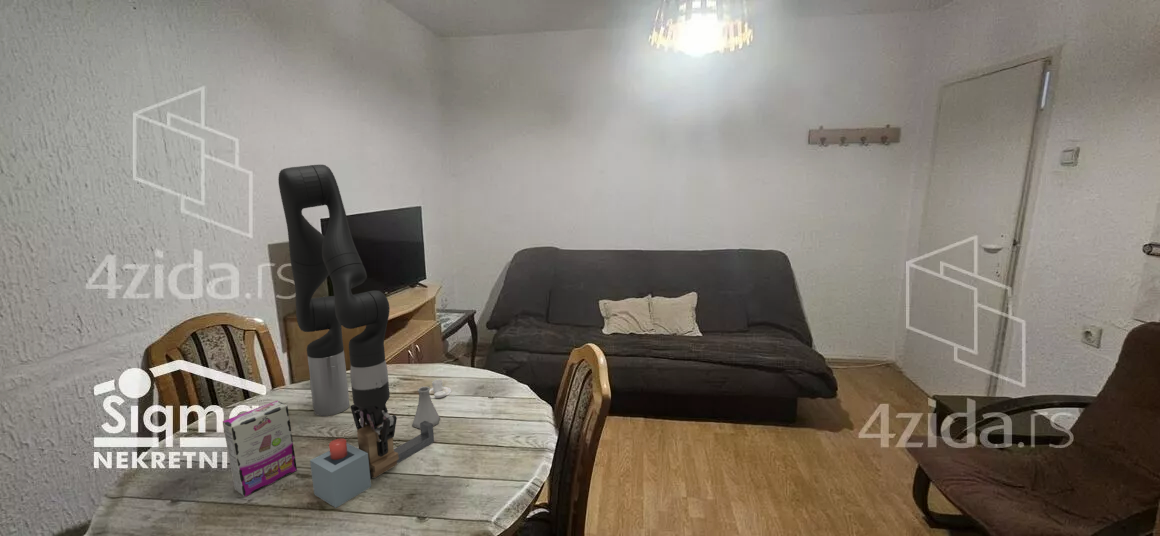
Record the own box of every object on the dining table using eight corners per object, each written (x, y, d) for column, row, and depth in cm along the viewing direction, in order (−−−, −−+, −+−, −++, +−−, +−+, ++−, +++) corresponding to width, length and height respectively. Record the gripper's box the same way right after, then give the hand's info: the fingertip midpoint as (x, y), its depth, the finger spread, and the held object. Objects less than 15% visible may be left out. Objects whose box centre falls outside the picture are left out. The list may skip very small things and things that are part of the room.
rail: (356, 478, 107) (353, 458, 106) (426, 438, 123) (424, 420, 122) (364, 482, 105) (362, 462, 104) (434, 441, 121) (432, 423, 120)
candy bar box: (286, 464, 112) (277, 399, 109) (297, 470, 110) (289, 404, 107) (232, 490, 103) (221, 420, 100) (243, 498, 100) (232, 426, 97)
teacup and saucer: (446, 400, 145) (445, 388, 144) (420, 400, 145) (419, 388, 144) (454, 388, 153) (453, 376, 153) (429, 388, 153) (429, 376, 153)
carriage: (357, 469, 109) (352, 428, 107) (380, 456, 114) (376, 417, 112) (376, 479, 105) (372, 437, 103) (399, 465, 110) (395, 425, 108)
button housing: (314, 494, 101) (309, 460, 100) (349, 474, 108) (345, 442, 107) (335, 508, 97) (331, 472, 96) (371, 486, 104) (367, 453, 102)
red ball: (327, 456, 101) (325, 443, 100) (341, 449, 103) (340, 436, 103) (336, 461, 99) (334, 448, 98) (350, 454, 102) (349, 441, 101)
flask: (431, 431, 127) (429, 395, 125) (407, 428, 128) (404, 393, 126) (444, 417, 134) (442, 384, 132) (421, 415, 135) (418, 382, 133)
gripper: (335, 380, 106) (343, 450, 110) (374, 395, 99) (381, 469, 102) (365, 368, 113) (372, 435, 116) (405, 381, 105) (410, 452, 108)
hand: (376, 451), depth 109 cm, fingers closed on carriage, 4 cm apart
